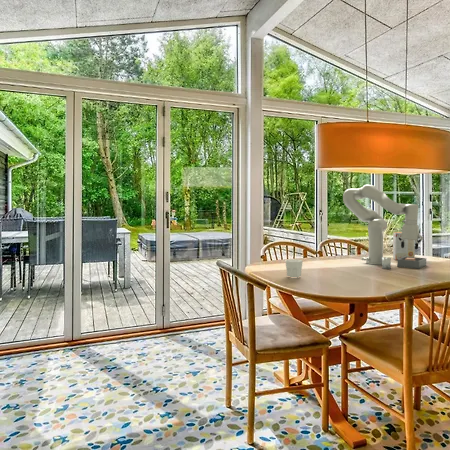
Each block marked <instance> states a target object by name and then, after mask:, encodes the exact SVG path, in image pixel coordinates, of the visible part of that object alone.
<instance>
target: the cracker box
mask: <svg viewBox="0 0 450 450" xmlns="http://www.w3.org/2000/svg"><path fill="white" fill-rule="evenodd" d="M401 233H402V231H397V232H395V231H394V232H392V235H393V237H392V238H393V239H392V240H393V242H392V244H393V245H392V254H393V255H392V257H393V258H392V259H393V260H395V261H397V259H400V258H403V257H416V256H415V254H416V253H415V250H416V249H415V243H416V242H415V240H410V239H405V240H404V248H402V247H401V241H400V240H399V239H398V237H397V235H399V234H401ZM400 238H401V236H400ZM401 239H402V238H401Z"/></svg>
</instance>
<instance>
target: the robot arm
mask: <svg viewBox="0 0 450 450" xmlns="http://www.w3.org/2000/svg"><path fill="white" fill-rule="evenodd" d="M363 199H368V200H371V201H372V202H374V203H376V204H377V205H378V206H380V207H381V208H383V209H384V210H386V211H387V212H389V213H391V214H392V215H398V216H399V215H404V220H403V219H402V223H403V224H402V228H401V232H402V233H401V234H399V235H397V237H398V239H399V240H400V241H401V247H402V248H404V240H405V239H410V240H415V250H418V249H419V243H421V242H422V241H423V240H424V239H425V238H424V237H423V236H422V235H421V234H420V229H419V225H418V216H419V206H418V204H415V203H399V202H396V201H394V200H393V199H390V197H389V196H387V194H386V193H385V192H383V191H382V190H380V189H378V188H377V187H376V186H375V185H373V184H364V185H363V186H362V187H359V188H347V189H346V190H344V192H343V195H342V200H343V204H344V205H345V207H346V208H347V209H348V210H350V211H351V212H352V214H353V215H355V216H356V217H357V218H358V219H359V220H360V221H361V222H363V223H368V224H367V232H368V255H367V257H361V260H362V261H365V263H366V264H369V265H377V266H378V265H379V266H381V265H382V258H384V256H383V255H384V235H383V234H384V233H383V232H384V231H386V230H387V228H388V223H387V221H386V220H385V219H384V217H382V216H381V215H380V214H378V212H376V211H375V210H374V209H371V208H366V207H365V206H364V205H362V203H361V202H359V200H363ZM400 236H401V238H402V239H401V238H400Z"/></svg>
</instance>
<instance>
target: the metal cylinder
mask: <svg viewBox="0 0 450 450" xmlns="http://www.w3.org/2000/svg"><path fill="white" fill-rule="evenodd" d="M391 262H392V259H391V257H384V256H383V258H382V264H381V265H382V266H381V267H382V269H383V270H391V265H392V264H391Z"/></svg>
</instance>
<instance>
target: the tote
mask: <svg viewBox="0 0 450 450" xmlns="http://www.w3.org/2000/svg"><path fill="white" fill-rule="evenodd" d="M405 258H415V261H412V260H405ZM396 263H397V264H396V265H397V267H398V268H407V269H414V270H415V269H417V270H420V269H422V268H424V267H426V266H427V258H426V257H417V256H415V257H403V258H400V259H397V260H396Z"/></svg>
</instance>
